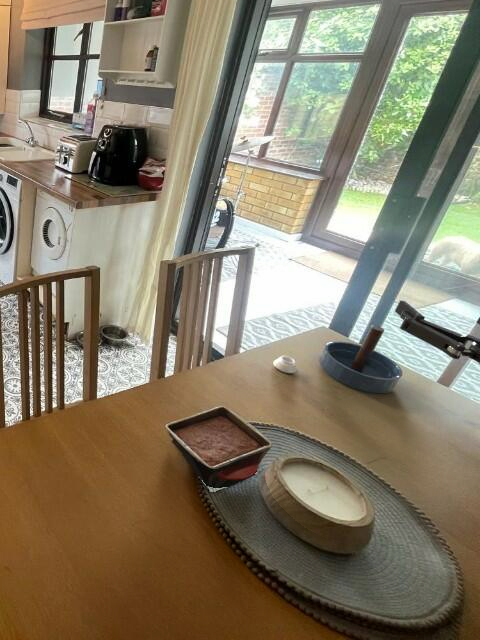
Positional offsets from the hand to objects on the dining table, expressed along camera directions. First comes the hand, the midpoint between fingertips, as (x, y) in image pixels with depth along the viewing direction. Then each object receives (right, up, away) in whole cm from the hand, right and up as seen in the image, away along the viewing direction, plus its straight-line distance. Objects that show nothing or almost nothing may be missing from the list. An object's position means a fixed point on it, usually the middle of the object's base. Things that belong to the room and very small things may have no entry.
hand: (439, 311), depth 85 cm
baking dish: (-48, -31, 0) cm, 57 cm away
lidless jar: (-13, -19, +26) cm, 34 cm away
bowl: (+4, -20, +23) cm, 31 cm away
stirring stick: (+4, -19, +23) cm, 30 cm away
